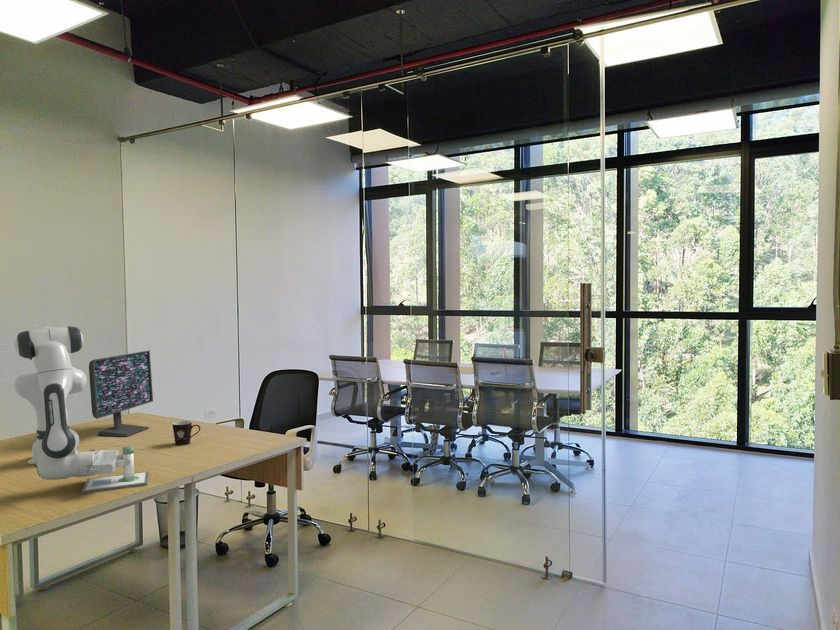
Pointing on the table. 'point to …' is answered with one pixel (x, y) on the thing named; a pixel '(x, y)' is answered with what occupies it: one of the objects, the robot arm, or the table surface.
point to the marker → (129, 469)
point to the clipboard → (114, 482)
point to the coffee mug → (183, 432)
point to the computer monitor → (120, 389)
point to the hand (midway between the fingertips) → (130, 459)
